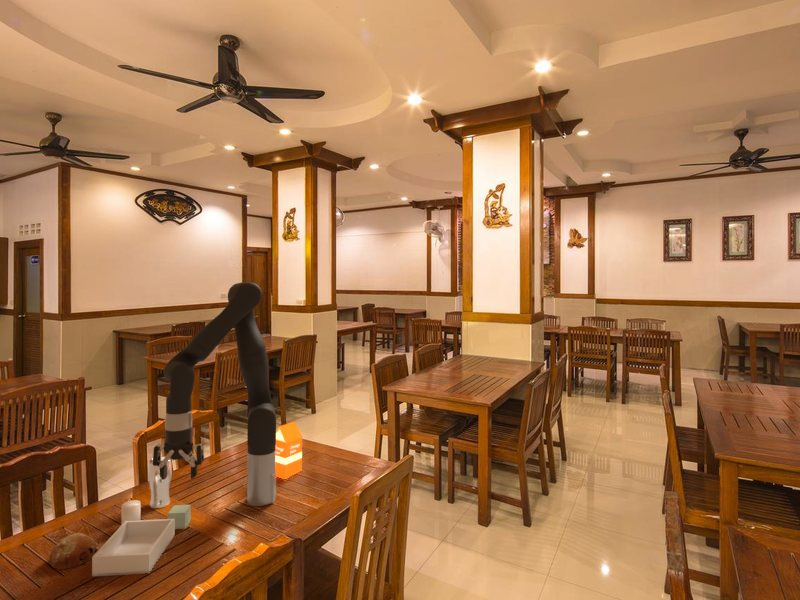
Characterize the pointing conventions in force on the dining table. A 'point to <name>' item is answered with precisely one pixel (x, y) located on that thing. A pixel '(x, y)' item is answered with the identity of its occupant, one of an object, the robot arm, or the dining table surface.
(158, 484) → the beer glass
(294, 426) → the orange juice
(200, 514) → the dining table surface
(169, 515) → the sage block
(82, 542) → the bread roll
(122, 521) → the white pillar candle
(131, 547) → the grey tote
